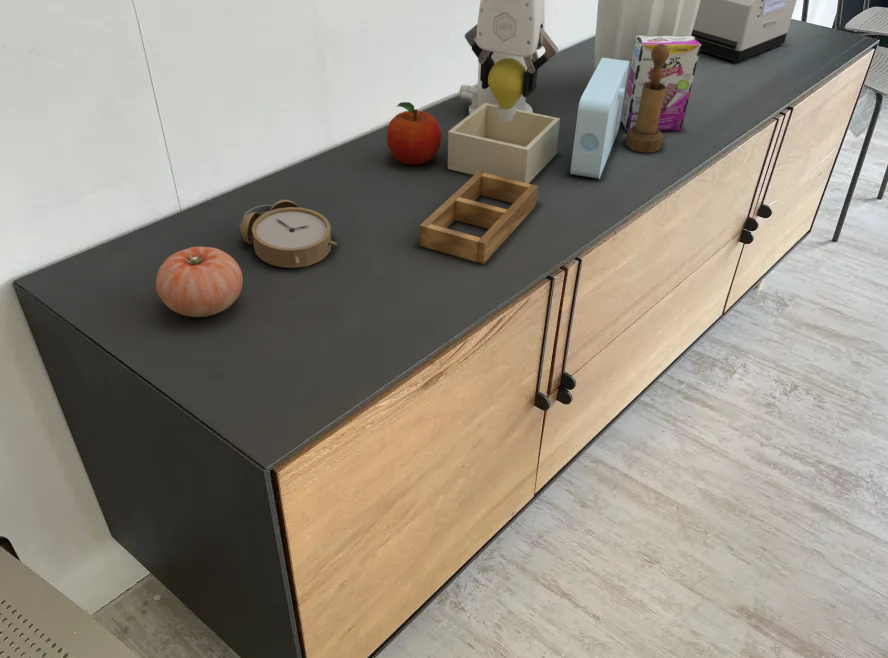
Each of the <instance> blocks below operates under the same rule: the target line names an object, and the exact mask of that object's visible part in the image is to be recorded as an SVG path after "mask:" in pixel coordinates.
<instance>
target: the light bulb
mask: <svg viewBox="0 0 888 658" xmlns="http://www.w3.org/2000/svg"><path fill="white" fill-rule="evenodd" d="M525 72H526V69H525V67H524V65H523V64H522V63H521V62H519V61H518V60H516V59H512V58H505V59H502V60H499V61H498V62H496V63H495V64H494V65H493V67H492V68H491V70H490V72H489V75H488V84H489V86H490V89H491V91H492V93H493V96H494V97H495V99H496V101H497V102H498V104H499V105H498V106H497V114H499V120H500V121H503V122H510V121H512V119H513V115H514V114H515V113H516V107H515V106H514V105H515V104H516V102H517V101H518V100H519V99H520V97H521V96H522V94H523V81H524V73H525Z"/></svg>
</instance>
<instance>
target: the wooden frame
mask: <svg viewBox="0 0 888 658" xmlns="http://www.w3.org/2000/svg"><path fill="white" fill-rule="evenodd" d="M538 189H539V186H538V185H536V184H531V183H529V184H528V183H524V182H520V181H516V180H512V179H507V178H503V177H499V176H495V175H491V174H487V173H483V172H479V171H478V172H477V173H476V174H475V175H472V176H471V177H470V178H469V179H468V180H467V181H466V182H465V183H464V184H463V185H462V186H461V187H459V188H458V189H457V190H456V191H455V192H454V193H453V194H452V195H450V197H449V198H447V200H445V201H444V202H443V203H442V204H441V205H440V206H439V207H438V208H437V209H436V210H434V212H433V213H431V214H430V215H429V216H428V217H427V218H426V219H425V220H424V221H423V222H421V224H419V246H420V247H423V248H427V249H430V250H433V251H437V252H440V253H443V254H446V255H450V256H454V257H456V258H461V259H464V260H468V261H471V262H474V263H478V264H482V265H484V264H485V263H486V262H487V261H488V260H489V259H490V258H491V257H492V256H493V255H494V253H496V251H497V250H498V249H499V248H500V247H501V246H502V245H503V244H504V242H505V241H506V240H508V238H509V237H510V235H511V234H512V233H513V232H514V231H515V230H516V229H517V228H518V227H519V225H520V224H522V222H523V221H524V220H525V218H526V217H527V216H529V214H530V213H531V212H532V211H533V210H534V208H535V207H536V206H537V201H538V200H537V199H538ZM481 196H482V197H486V198H490V199H494V200H498V201H502V202H506V203H510V204H511V205H510V206H509V207H508V208H503V207H499V206H495V205H492V204H487V203H484V202H480V201H476V200H477V199H478V198H479V197H481ZM455 221H457V222H460V223H464V224H468V225H471V226H475V227H479V228H482V229H487V231H486V232H484V234H483V235H482V236H481V237H479V236H475V235H473V234H469V233H466V232H461V231H459V230H455V229H450V228H449V227H450V226H451V225H452V224H453V223H454V222H455Z"/></svg>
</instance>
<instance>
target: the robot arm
mask: <svg viewBox="0 0 888 658" xmlns="http://www.w3.org/2000/svg"><path fill="white" fill-rule="evenodd" d="M479 2H480V3H479V9H478V17H477V23H476V24H475V25H474V26H473V27H472V28H470V29H469V30H468V31H467V32H466V33H465V34H464V38H465V40H466V41H467V43H468V45H469V46H470V47H471V51H472V52H473V53H474V55H475V56H476V58H477V62H478V66H477V85H476V86H471V85H469V84H461V86H460V88H459V97H460V99H462V100H468V101H470V102H471V104H470V105H469V107H468V116H469V115H470V114H471V113H472V112H474V111H475V110H476V109H477V108H479V107H480V106H481V105H482V104H484V103H489V104H494V105H499V104H498V102H497V101H496V99H495V97H494V96H493V93H492V91H491V89H490V86H489V84H488V75H489V72H490V70H491V68H492V67H493V65H494V64H495V63H496V62H498V61H499V60H502V59H505V58H512V59H516V60H518V61H519V62H521V63H522V64H523V65H524V67H525V69H526V72H525V73H524V81H523V94H522V96H521V97H520V99H519V100H518V101H517V102H516V104H515V105H514V106H515V107H516V109H518V110H522V111H527V112H532V113H534V110H533V108H532V106H531V105H530V104H529V103H527V102H526V100H527V98H528V97H529V96H530V95H532V94H533V93H534V92H535V91H536V88H537V82H538V81H537V80H538V70H539V69H540V68H542V66H543V65H545V64H546V63H547V62H549V61H550V59H551V58H553V57H554V56H555V55H556V54H557V53H558V52H559V47H558V46H557V45H556V44H555V42H554V41H553V39H551V37H550V36H549V35H548V32H546V31H545V26H546V25H545V24H546V19H545V18H546V17H545V14H546V13H545V12H546V11H545V8H546V7H545V0H479ZM542 48H543V49H544V53H543V54H541V56H539V53H538V51H539V50H540V49H542Z"/></svg>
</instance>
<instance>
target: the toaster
mask: <svg viewBox="0 0 888 658" xmlns="http://www.w3.org/2000/svg"><path fill="white" fill-rule="evenodd" d="M796 4H797V0H700V4H699V8H698V12H697V16H696V19H695V23H694V27H693V30H692V34H691V36H694V37H695V38H696V40H697V41H698V42H699V43H700V44H701V48H700V52H704V53H707V54H710V55H714V56H717V57H719V58H722V59H726V60H730V61H731V63H733V64H737V63H738V62H741V61H744V60H746V59H748V58H751V57H753V56H755V55H758V54H760V53H763V52H766V51H768V50H770V49H773V48H775V47H779V46H780V45H782V44H785V42H786V38H787V36H788V31H789V28H790V25H791V22H792V18H793V14H794V12H795V11H794V10H795V8H796Z"/></svg>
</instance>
